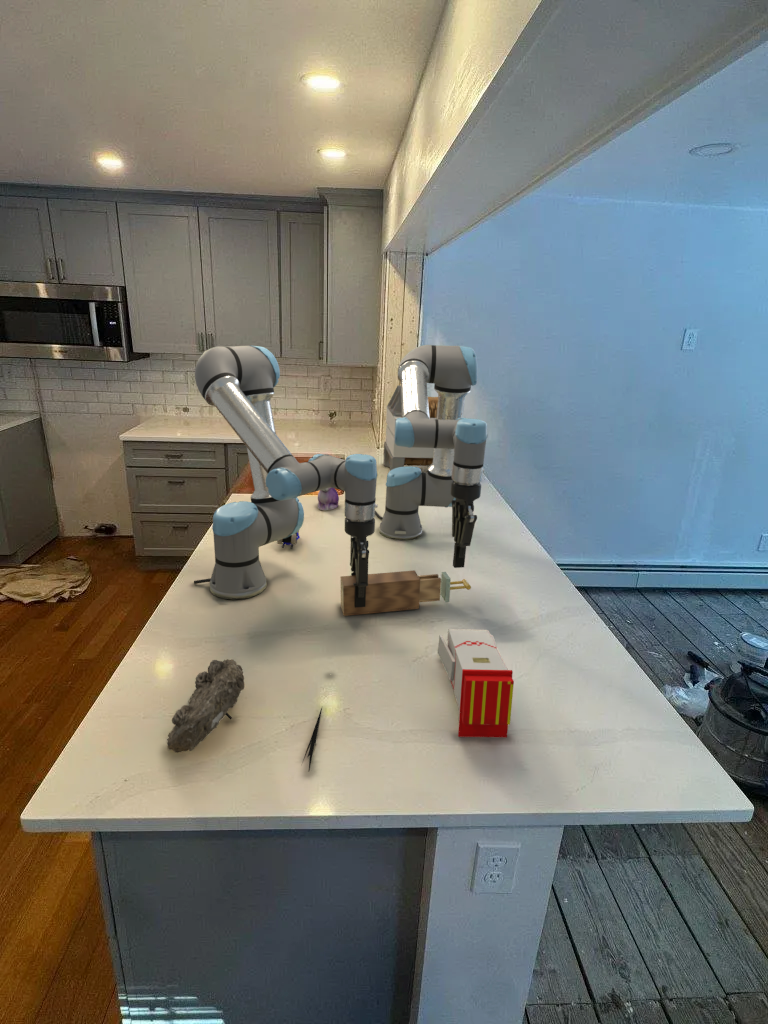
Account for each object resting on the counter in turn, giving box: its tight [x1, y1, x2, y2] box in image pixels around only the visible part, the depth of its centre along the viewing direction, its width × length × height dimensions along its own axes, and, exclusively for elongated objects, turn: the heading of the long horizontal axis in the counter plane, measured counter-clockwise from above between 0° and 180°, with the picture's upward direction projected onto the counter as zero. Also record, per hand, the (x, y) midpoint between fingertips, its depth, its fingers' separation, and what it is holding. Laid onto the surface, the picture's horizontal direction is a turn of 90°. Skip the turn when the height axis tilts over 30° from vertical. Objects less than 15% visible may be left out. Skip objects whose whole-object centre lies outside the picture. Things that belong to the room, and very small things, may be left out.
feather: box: [301, 673, 332, 771], centre depth 108 cm, size 2×28×2 cm
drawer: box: [418, 571, 472, 604], centre depth 151 cm, size 25×4×7 cm, turn 102°
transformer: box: [383, 384, 438, 472], centre depth 268 cm, size 34×33×41 cm
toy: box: [437, 628, 515, 738], centre depth 117 cm, size 12×13×30 cm
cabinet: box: [339, 569, 420, 617], centre depth 148 cm, size 20×5×9 cm, turn 102°
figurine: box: [317, 488, 340, 511], centre depth 220 cm, size 9×10×15 cm
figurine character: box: [276, 530, 301, 550], centre depth 187 cm, size 7×8×15 cm
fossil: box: [166, 658, 245, 754], centre depth 106 cm, size 22×10×15 cm
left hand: (357, 600), depth 148 cm, fingers closed on cabinet, 5 cm apart
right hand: (458, 566), depth 151 cm, fingers closed
